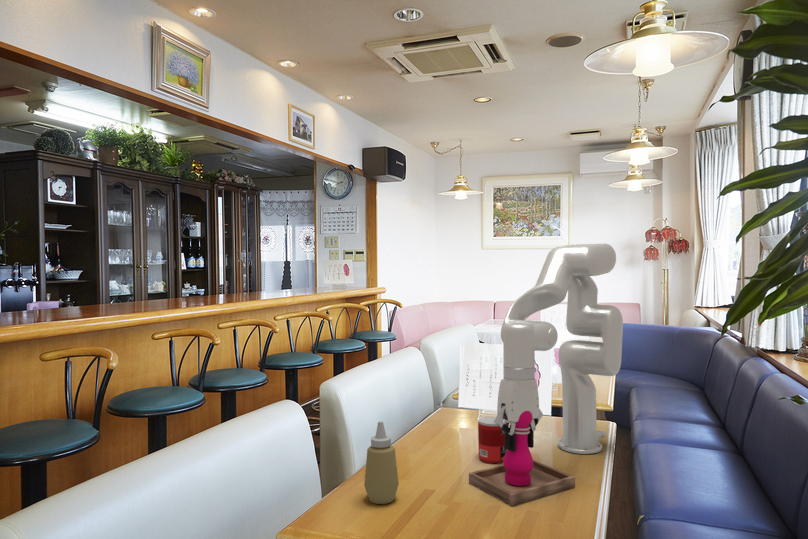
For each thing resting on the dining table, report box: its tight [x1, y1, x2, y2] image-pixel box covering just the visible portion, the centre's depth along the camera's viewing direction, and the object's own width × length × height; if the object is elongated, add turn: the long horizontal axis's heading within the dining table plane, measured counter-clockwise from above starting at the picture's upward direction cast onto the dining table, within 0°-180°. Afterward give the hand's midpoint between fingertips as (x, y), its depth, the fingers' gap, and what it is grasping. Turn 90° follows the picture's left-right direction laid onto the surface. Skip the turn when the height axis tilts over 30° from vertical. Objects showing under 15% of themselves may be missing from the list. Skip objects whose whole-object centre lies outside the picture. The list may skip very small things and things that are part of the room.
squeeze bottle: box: [363, 421, 400, 505], centre depth 128 cm, size 8×8×18 cm
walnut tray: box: [468, 459, 576, 507], centre depth 135 cm, size 20×16×2 cm
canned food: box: [477, 416, 507, 465], centre depth 154 cm, size 8×8×11 cm
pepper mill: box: [502, 411, 534, 486], centre depth 135 cm, size 7×7×20 cm
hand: (519, 447), depth 135 cm, fingers closed on pepper mill, 5 cm apart
